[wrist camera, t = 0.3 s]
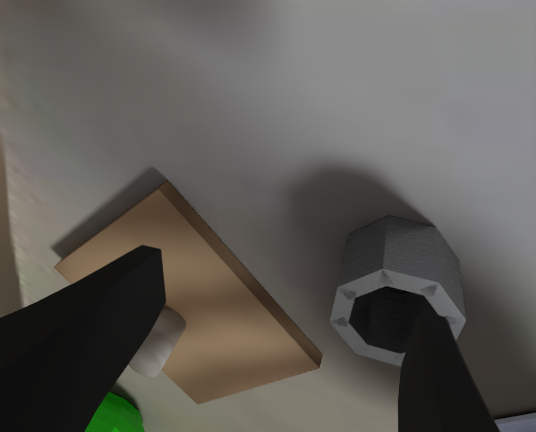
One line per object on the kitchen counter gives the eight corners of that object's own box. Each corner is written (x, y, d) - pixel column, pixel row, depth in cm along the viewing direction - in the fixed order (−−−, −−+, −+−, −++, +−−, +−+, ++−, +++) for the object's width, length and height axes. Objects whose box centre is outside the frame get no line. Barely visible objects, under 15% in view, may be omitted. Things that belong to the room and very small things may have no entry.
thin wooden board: (322, 355, 27) (307, 421, 23) (203, 392, 33) (176, 450, 29) (167, 179, 23) (120, 226, 19) (63, 257, 29) (12, 304, 25)
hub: (474, 282, 21) (484, 345, 18) (379, 315, 24) (374, 375, 21) (418, 201, 20) (418, 254, 16) (324, 246, 22) (309, 298, 19)
